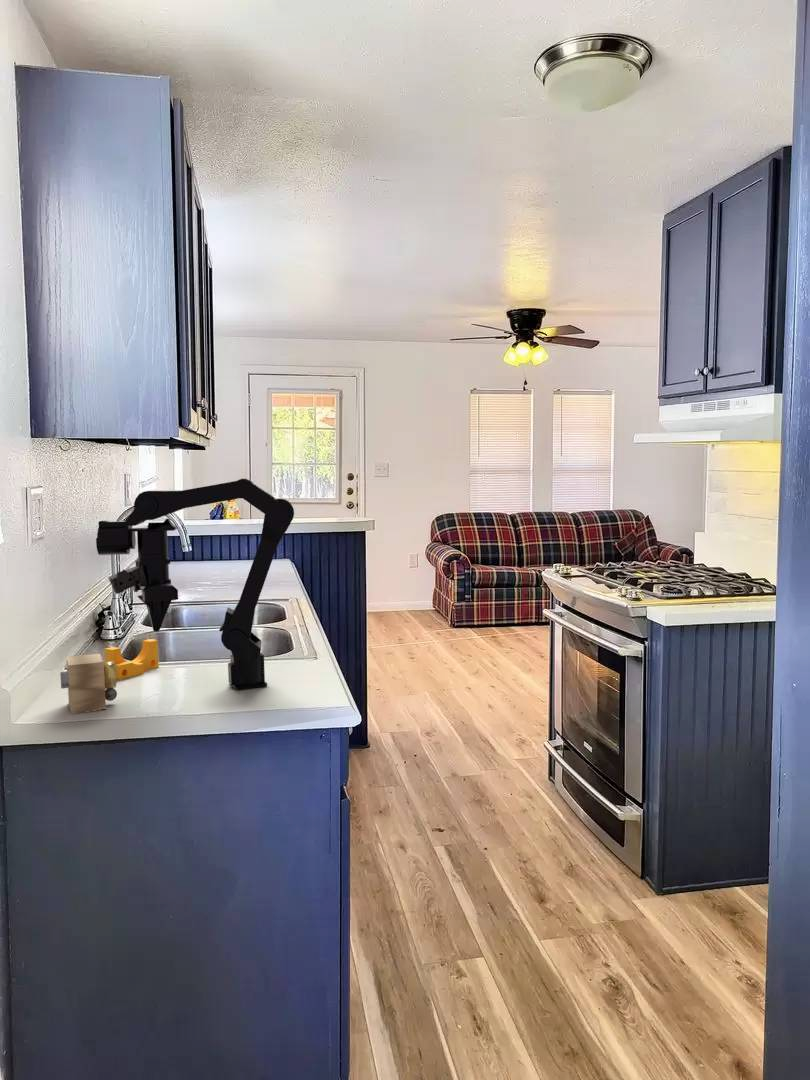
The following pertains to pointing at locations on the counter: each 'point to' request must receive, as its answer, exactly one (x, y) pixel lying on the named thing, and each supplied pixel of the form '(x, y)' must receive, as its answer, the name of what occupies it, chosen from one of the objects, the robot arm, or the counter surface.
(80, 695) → the oak block
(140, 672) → the pipe clamp
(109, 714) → the counter surface
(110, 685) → the tan and grey piece
